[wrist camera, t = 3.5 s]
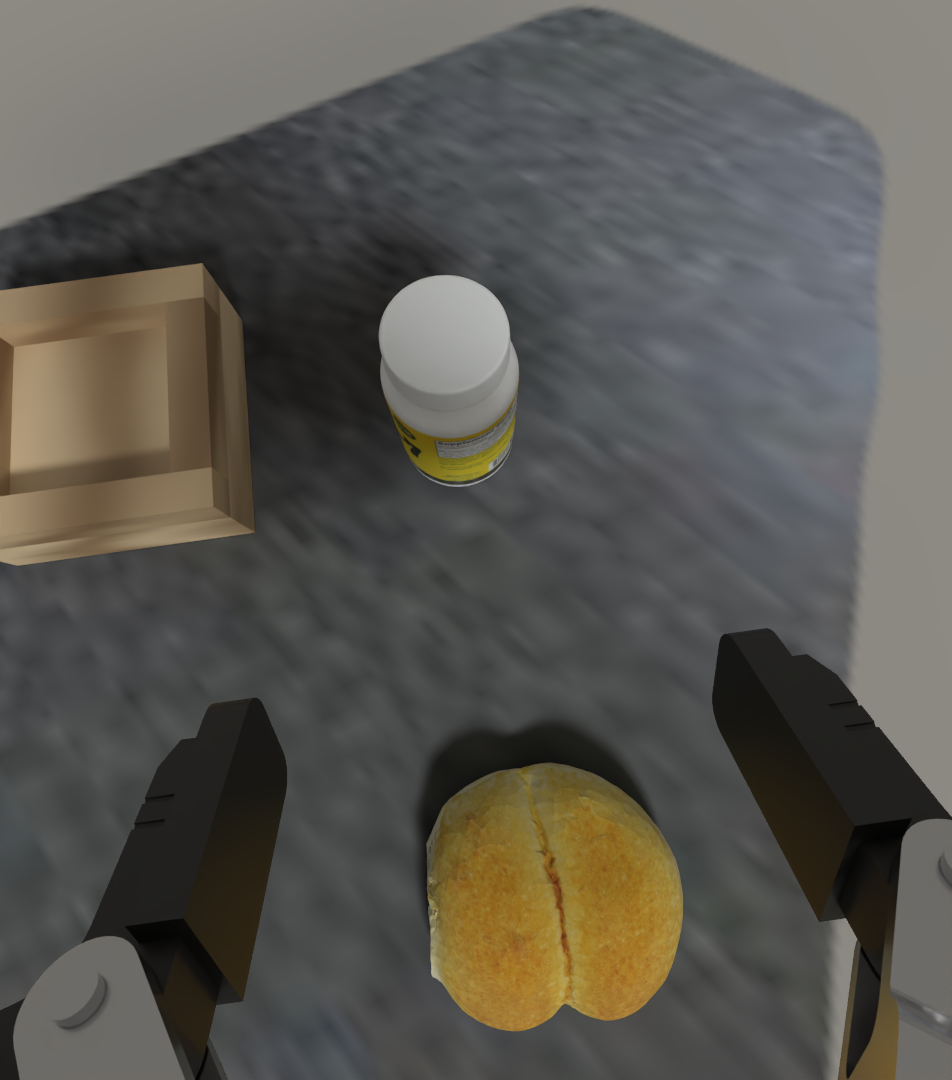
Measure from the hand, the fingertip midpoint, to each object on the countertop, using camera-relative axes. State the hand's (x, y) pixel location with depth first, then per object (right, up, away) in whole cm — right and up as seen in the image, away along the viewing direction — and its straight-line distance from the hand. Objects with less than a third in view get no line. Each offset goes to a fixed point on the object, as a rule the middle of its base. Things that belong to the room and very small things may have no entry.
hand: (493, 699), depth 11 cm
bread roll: (+2, -10, +12) cm, 16 cm away
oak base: (-15, +7, +16) cm, 23 cm away
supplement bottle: (-1, +7, +16) cm, 18 cm away
